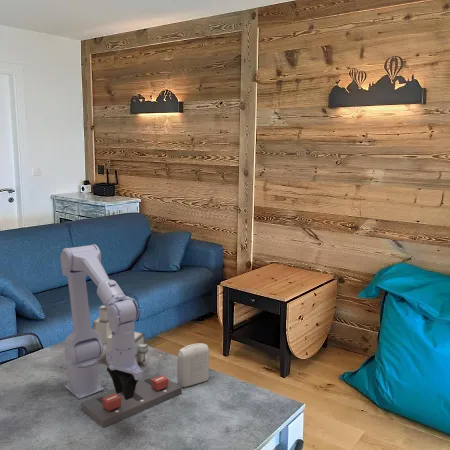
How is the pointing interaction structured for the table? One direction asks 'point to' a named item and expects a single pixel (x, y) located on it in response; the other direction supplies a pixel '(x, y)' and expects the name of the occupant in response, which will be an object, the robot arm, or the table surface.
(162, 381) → the switch
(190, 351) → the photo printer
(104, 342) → the toy llama
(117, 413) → the slider switch panel
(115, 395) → the switch
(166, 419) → the table surface
